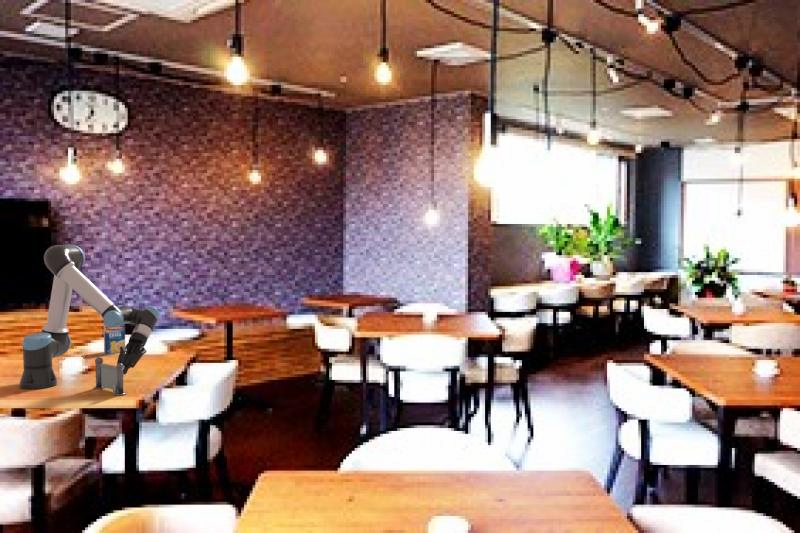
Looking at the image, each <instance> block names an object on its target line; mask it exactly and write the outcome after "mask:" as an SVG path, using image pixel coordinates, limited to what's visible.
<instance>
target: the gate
mask: <svg viewBox="0 0 800 533" xmlns="http://www.w3.org/2000/svg"><path fill="white" fill-rule="evenodd" d="M116 366H117V365H113V364H109V363H108V364H107V363H103V364H100V367H101V382H102V387H104V388H105V389H109V390H113V385H117V367H116ZM117 392H118V389H117Z"/></svg>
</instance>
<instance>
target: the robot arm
mask: <svg viewBox="0 0 800 533" xmlns="http://www.w3.org/2000/svg"><path fill="white" fill-rule="evenodd" d="M43 260H44V264H45V266H46V268H47V269H48V270H49V271H50V273H52V274H53V275H54V276H53V282H52V289H51V293H50V298H49V299H50V300H49V306H48V313H47V319H46V324H45V325H44V326H42V328H41V332H36V333H30V334H28V335H26V336H24V338H23V339H22V346H21V347H22V358H23V359H22V360H23V371H22V374H21V378H20V381H19V389H22V390H23V389H24V390H37V389H47V388H51V387H54V386H56V385H58V378H57V375H56V374H55V371H54V369H53V359H54V358H58V357H62V355H64V354H66V353H67V352H68V351H69V350H70V348H71V345H72V339H71V337H70V335H69V334H70V329H69V328H68V327H67V324H68V318H69V311H70V306H71V300H72V295H73V293H72V292H73V291H74V292H75V293H76V294H78V296H79V297H81V298H82V299H83V300H84V301H85V302H86V303H87V304H88V305H90V307H92V308H93V310H94V311H95V312H97V313H98V314H99V315H100V316H101V317H102V318H103V319H102V320H104V323H105V325H107V326H108V327H119V326H120V325H124V324H125V325H126V324H127V325H128V324H130V325H134V326H135V327H134V328H133V330H132V333H131V335H130V337H129V338H128V343H127V344H125V347H120V353H118V358H117V362H116V365H117V364H118V363H122V364H123V378H124V376H125V375H126V374H127V373H128V371H129V369H131V368H132V369H134V368H135V366H136V365H137V363H138V362H139V361H140V359H141V358H142V357H143V356H144V355H145V354H146V353H147V349H146V348H145V346H146V344H147V342H148V340H149V337H150V335H151V333H152V331H153V329H154V328H155V326H156V323H157V322H158V320H159V317H160V313H161V312H160V310H159V309H158V308H157V307H155V306H152V305H149V306H145V308H144V309H141V308H136V307H131V306H127V305H122V304H121V305H120V304H118V305H115V303H114V302H112V300H110V299H109V297H108V296H106V294H104V293H103V292H102V291H101V290H100V289H99V288H98V287H97V286H96V285H95V284H94V283H93V282H92V281H91V280H90V279H88V278H87V276H85V275H84V274H83V272H81V271H80V268H81V267H82V266H83V265H84V263H85V261H86V255H85V252H84V250H83V249H82V248H81V247H79V246H77V245H75V244H55V245H53V246H52V245H51V246H50V247H48V248H47V249H46V251H45V252H44V255H43Z"/></svg>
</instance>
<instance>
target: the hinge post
mask: <svg viewBox="0 0 800 533" xmlns="http://www.w3.org/2000/svg"><path fill="white" fill-rule="evenodd" d="M94 363H95V386H94V387H93V390H96V389H98V390H104V389H103V388H104V387H102V382H101V367H100V364H104V359H103V357H100V356H98V357H96V358H95V360H94Z"/></svg>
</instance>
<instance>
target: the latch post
mask: <svg viewBox="0 0 800 533" xmlns="http://www.w3.org/2000/svg"><path fill="white" fill-rule="evenodd" d="M115 366H116V367H117V385H113V389H112V394H113V395H114V396H118V397H119V396H126V395H127V394H128V392H126V391H124V377H123V364H122V363H118V364H117V363H116V365H115ZM117 389H118V391H117Z"/></svg>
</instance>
